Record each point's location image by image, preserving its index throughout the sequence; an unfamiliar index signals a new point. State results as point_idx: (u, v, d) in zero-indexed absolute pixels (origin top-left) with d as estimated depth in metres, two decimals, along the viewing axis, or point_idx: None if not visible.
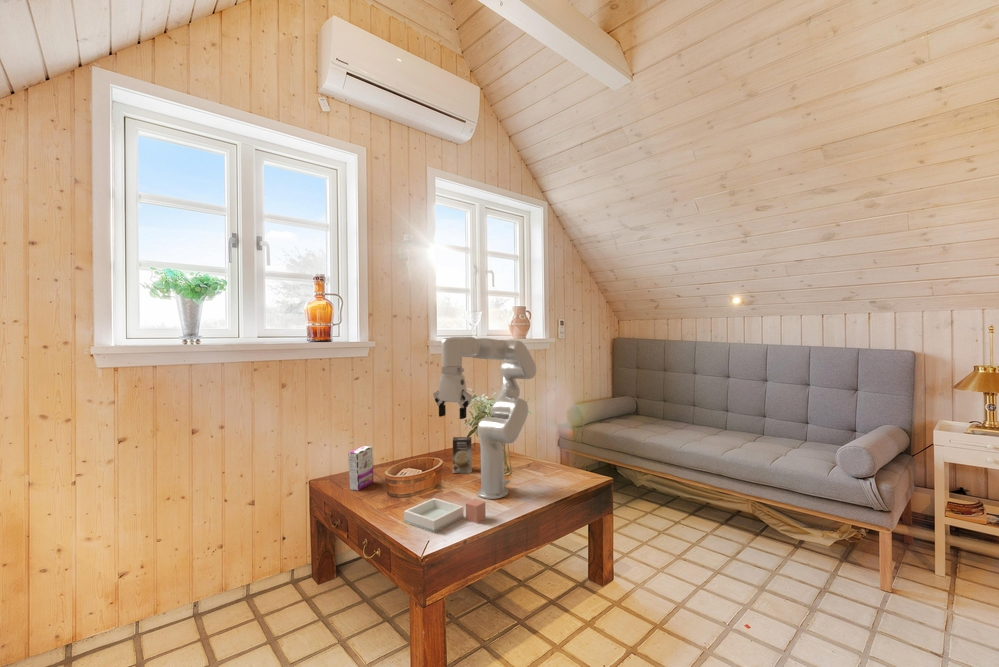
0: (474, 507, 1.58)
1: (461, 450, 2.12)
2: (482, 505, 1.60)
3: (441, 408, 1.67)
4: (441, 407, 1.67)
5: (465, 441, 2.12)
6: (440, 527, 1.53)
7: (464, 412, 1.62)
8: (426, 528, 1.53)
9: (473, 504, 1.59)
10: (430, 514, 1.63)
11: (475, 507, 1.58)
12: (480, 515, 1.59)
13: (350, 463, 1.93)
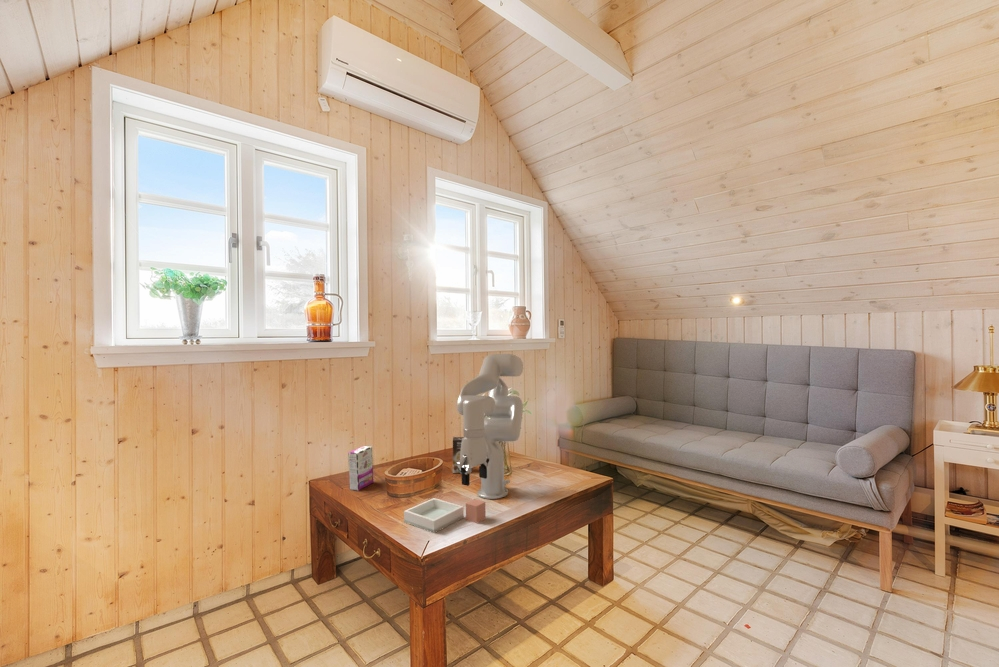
0: (474, 507, 1.58)
1: None
2: (482, 505, 1.60)
3: None
4: None
5: None
6: (440, 527, 1.53)
7: None
8: (426, 528, 1.53)
9: (473, 504, 1.59)
10: (430, 514, 1.63)
11: (475, 507, 1.58)
12: (480, 515, 1.59)
13: (350, 463, 1.93)
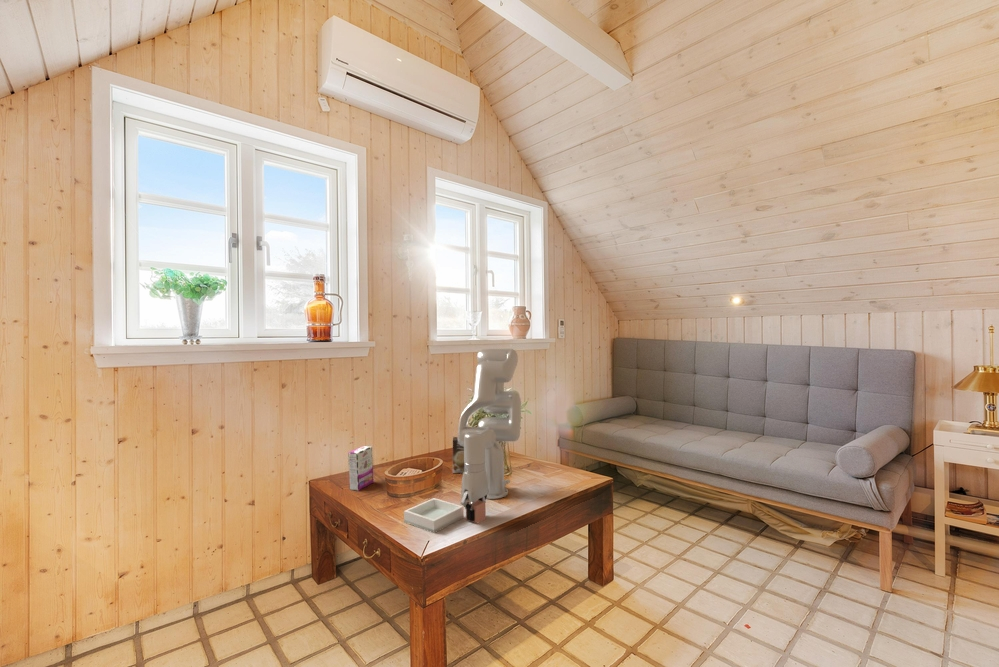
0: (474, 507, 1.58)
1: (462, 450, 2.12)
2: (482, 505, 1.60)
3: None
4: None
5: None
6: (440, 527, 1.53)
7: None
8: (426, 528, 1.53)
9: None
10: (430, 514, 1.63)
11: (475, 507, 1.58)
12: (480, 515, 1.59)
13: (350, 463, 1.93)
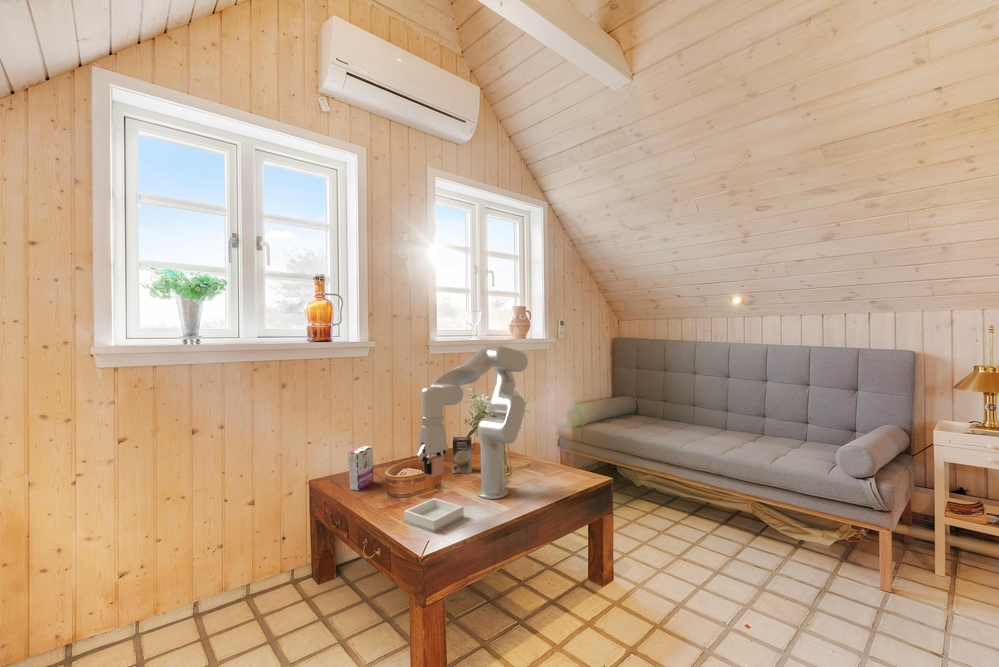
0: (431, 460, 1.58)
1: (461, 450, 2.12)
2: (440, 459, 1.60)
3: None
4: None
5: (465, 441, 2.12)
6: (440, 527, 1.53)
7: None
8: (426, 528, 1.53)
9: None
10: (430, 514, 1.63)
11: (432, 460, 1.57)
12: (438, 469, 1.59)
13: (350, 463, 1.93)
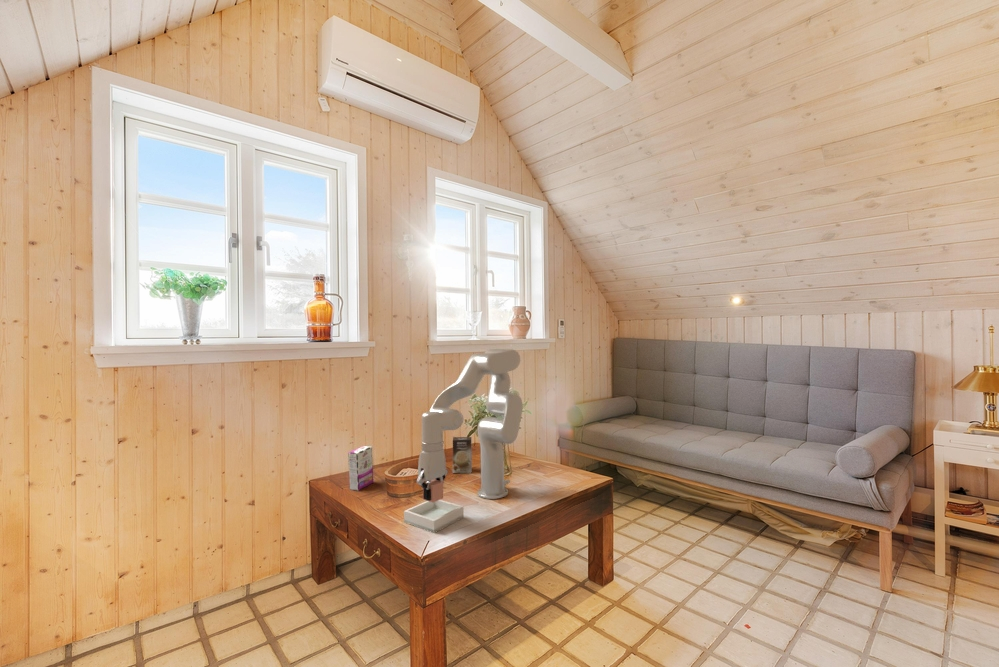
0: (430, 486, 1.58)
1: (461, 450, 2.12)
2: (439, 485, 1.60)
3: None
4: None
5: (465, 441, 2.12)
6: (440, 527, 1.53)
7: None
8: (426, 528, 1.53)
9: None
10: (430, 514, 1.63)
11: (432, 486, 1.57)
12: (437, 495, 1.59)
13: (350, 463, 1.93)
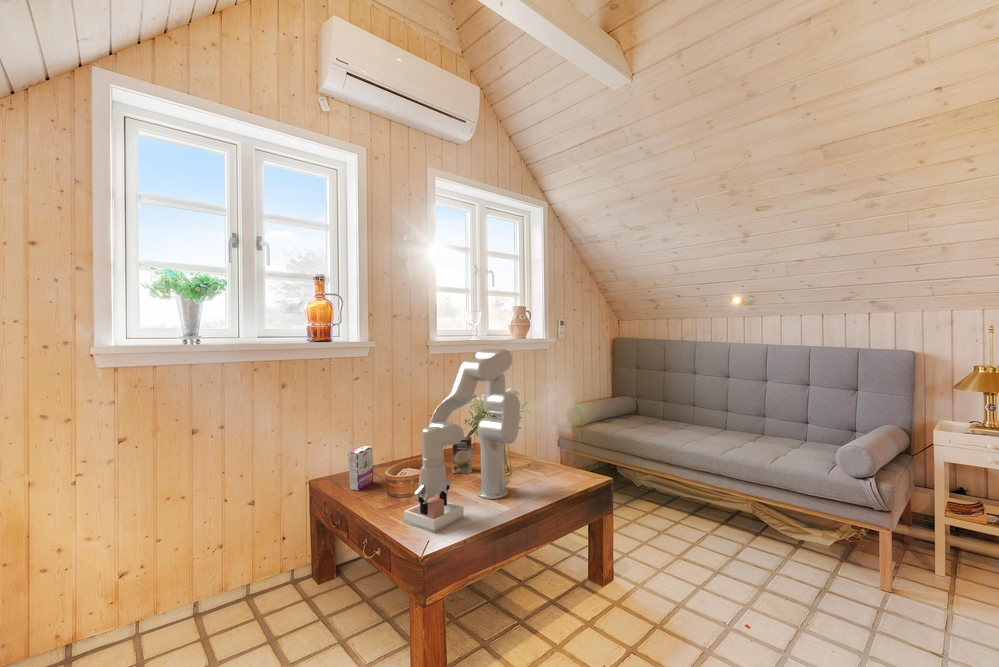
0: (431, 504, 1.58)
1: (461, 450, 2.12)
2: (440, 503, 1.60)
3: None
4: None
5: (465, 441, 2.12)
6: (440, 527, 1.53)
7: None
8: (426, 528, 1.53)
9: (431, 502, 1.59)
10: None
11: (433, 505, 1.58)
12: (438, 513, 1.59)
13: (350, 463, 1.93)
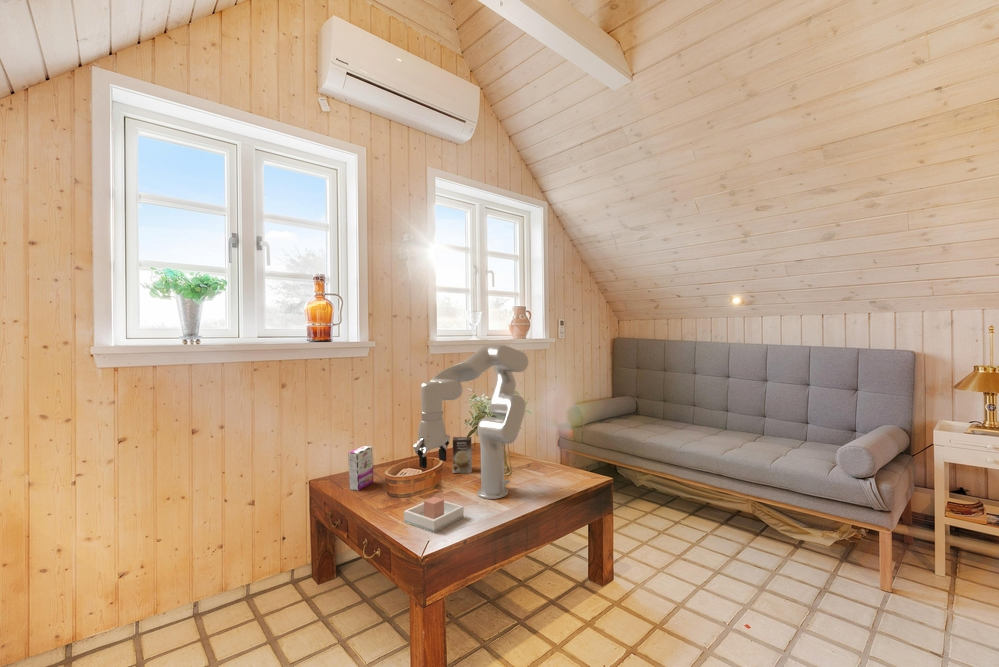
0: (431, 504, 1.58)
1: (461, 450, 2.12)
2: (440, 503, 1.60)
3: None
4: None
5: (465, 441, 2.12)
6: (440, 527, 1.53)
7: None
8: (426, 528, 1.53)
9: (431, 502, 1.59)
10: None
11: (433, 505, 1.58)
12: (438, 513, 1.59)
13: (350, 463, 1.93)
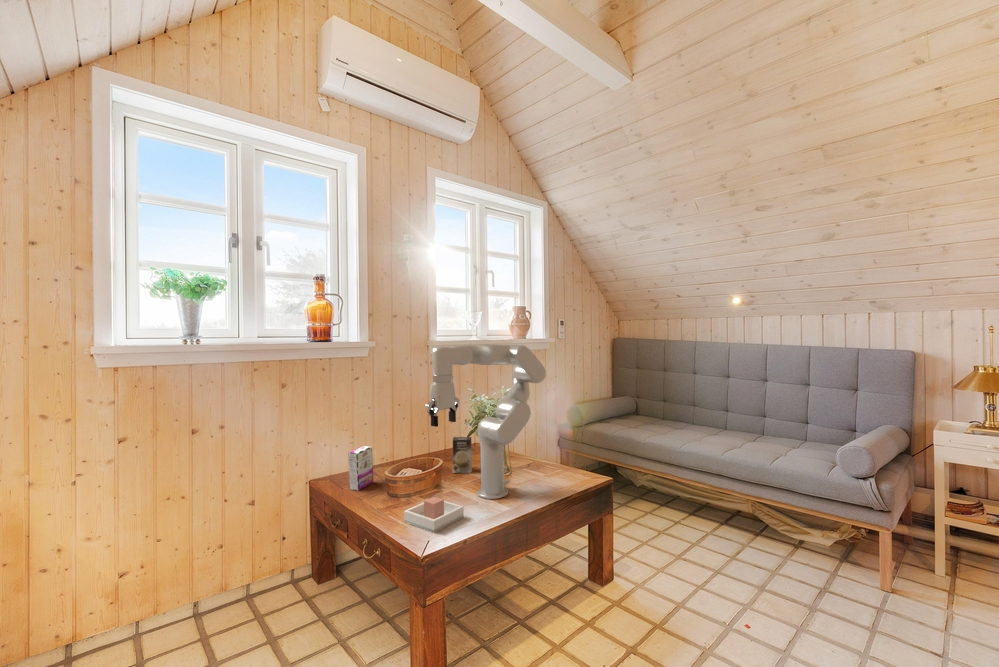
0: (431, 504, 1.58)
1: (461, 450, 2.12)
2: (440, 503, 1.60)
3: None
4: None
5: (465, 441, 2.12)
6: (440, 527, 1.53)
7: None
8: (426, 528, 1.53)
9: (431, 502, 1.59)
10: None
11: (433, 505, 1.58)
12: (438, 513, 1.59)
13: (350, 463, 1.93)
